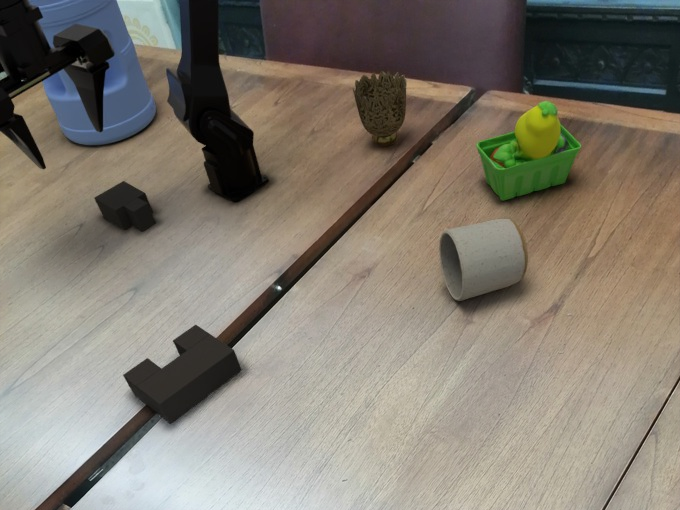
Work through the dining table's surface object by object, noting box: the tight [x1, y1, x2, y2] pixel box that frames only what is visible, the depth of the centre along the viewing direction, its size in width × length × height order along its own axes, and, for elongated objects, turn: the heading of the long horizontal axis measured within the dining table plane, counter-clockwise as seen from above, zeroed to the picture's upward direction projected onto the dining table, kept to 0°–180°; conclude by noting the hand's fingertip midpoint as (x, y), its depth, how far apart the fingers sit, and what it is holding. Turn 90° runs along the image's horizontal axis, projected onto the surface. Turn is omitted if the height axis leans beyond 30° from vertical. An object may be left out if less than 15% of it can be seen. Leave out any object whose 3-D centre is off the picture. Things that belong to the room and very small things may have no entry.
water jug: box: [29, 0, 157, 146], centre depth 103 cm, size 16×16×28 cm
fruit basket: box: [476, 100, 582, 201], centre depth 86 cm, size 11×9×11 cm
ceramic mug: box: [438, 218, 529, 302], centre depth 78 cm, size 11×8×8 cm
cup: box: [352, 70, 408, 147], centre depth 98 cm, size 8×7×8 cm
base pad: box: [122, 324, 242, 424], centre depth 75 cm, size 10×7×3 cm
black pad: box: [93, 180, 157, 232], centre depth 96 cm, size 5×8×3 cm, turn 46°
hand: (71, 149), depth 85 cm, fingers open, 9 cm apart
